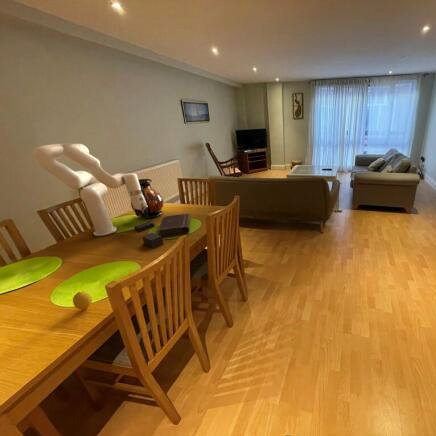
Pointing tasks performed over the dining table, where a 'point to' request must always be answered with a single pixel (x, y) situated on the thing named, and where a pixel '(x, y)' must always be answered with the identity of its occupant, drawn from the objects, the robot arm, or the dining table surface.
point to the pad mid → (152, 238)
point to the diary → (174, 225)
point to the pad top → (144, 226)
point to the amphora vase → (150, 199)
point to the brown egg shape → (82, 300)
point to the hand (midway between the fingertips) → (142, 216)
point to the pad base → (153, 244)
